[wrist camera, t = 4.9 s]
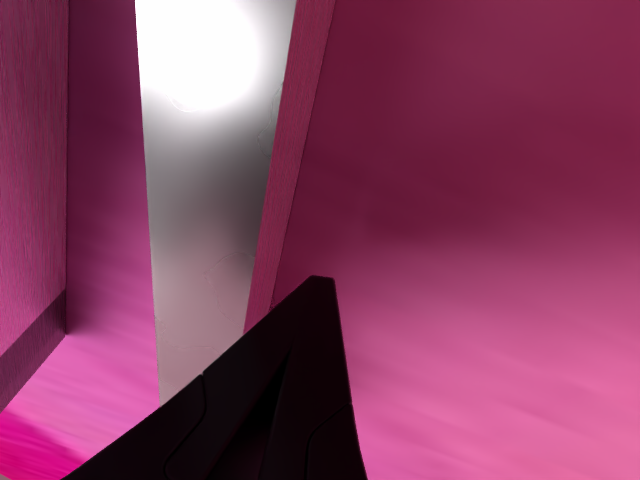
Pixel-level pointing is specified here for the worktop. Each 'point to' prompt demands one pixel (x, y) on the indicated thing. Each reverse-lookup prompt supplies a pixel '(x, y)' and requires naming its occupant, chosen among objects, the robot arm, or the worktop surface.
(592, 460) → the worktop surface
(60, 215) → the tongs fixed
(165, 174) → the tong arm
